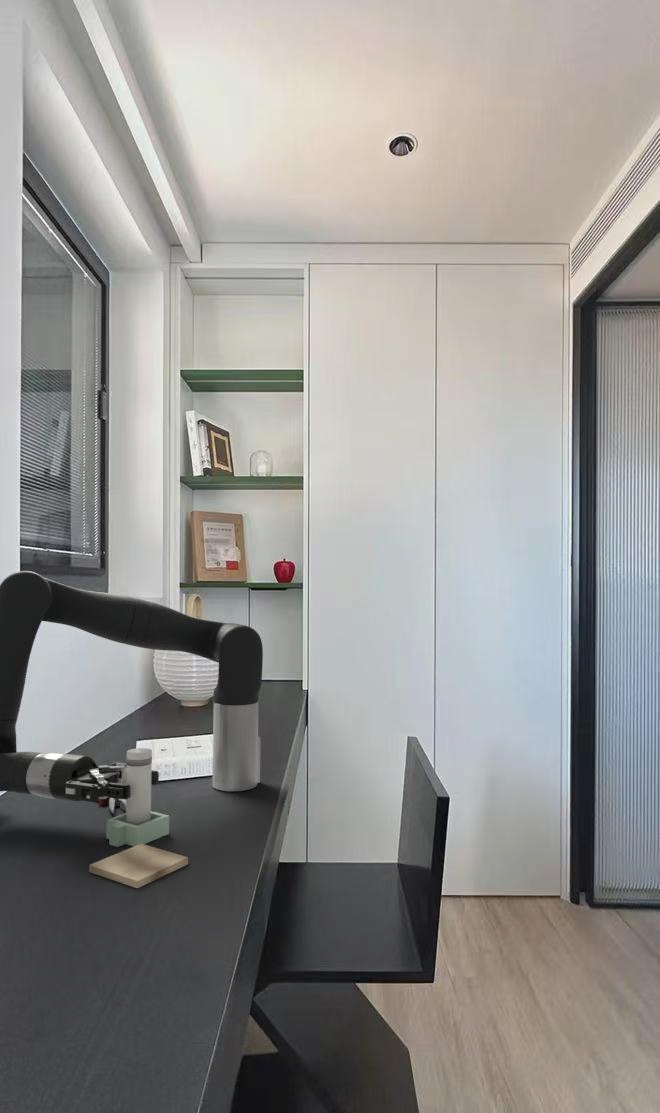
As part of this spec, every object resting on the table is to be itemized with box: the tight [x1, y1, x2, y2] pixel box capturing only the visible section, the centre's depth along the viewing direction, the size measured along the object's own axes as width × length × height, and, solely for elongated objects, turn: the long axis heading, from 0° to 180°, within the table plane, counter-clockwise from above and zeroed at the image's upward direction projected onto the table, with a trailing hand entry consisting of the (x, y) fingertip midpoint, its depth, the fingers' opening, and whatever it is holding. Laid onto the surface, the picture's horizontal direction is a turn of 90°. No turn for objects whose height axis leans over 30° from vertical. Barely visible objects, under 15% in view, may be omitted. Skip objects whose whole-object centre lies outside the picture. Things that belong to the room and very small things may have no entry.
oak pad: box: [88, 844, 189, 889], centre depth 105 cm, size 10×10×1 cm
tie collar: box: [105, 810, 170, 848], centre depth 117 cm, size 9×7×3 cm
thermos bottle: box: [125, 747, 153, 826], centre depth 118 cm, size 4×4×14 cm
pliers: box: [89, 795, 126, 815], centre depth 137 cm, size 12×20×3 cm, turn 25°
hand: (144, 784), depth 118 cm, fingers open, 8 cm apart
